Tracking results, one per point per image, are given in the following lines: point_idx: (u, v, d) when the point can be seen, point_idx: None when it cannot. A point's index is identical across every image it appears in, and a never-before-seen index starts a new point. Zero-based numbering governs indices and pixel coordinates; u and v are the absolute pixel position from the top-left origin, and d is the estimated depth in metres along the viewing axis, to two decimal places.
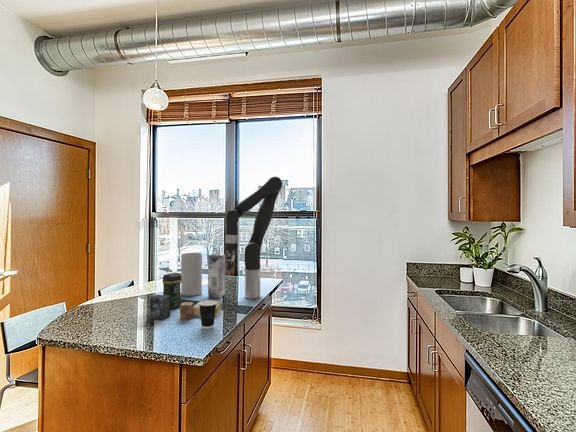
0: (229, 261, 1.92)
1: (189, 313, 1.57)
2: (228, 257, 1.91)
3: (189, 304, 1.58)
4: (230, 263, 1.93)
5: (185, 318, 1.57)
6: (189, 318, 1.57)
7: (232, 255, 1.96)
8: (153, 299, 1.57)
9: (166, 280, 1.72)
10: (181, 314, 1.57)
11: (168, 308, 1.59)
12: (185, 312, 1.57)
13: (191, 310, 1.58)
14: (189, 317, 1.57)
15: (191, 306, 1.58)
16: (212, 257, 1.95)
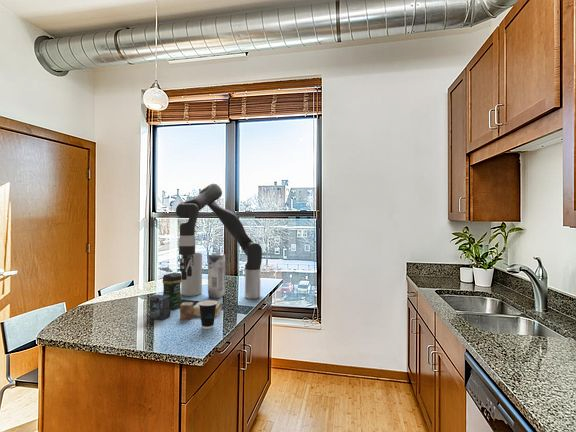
0: (183, 269, 1.52)
1: (189, 313, 1.57)
2: (181, 264, 1.52)
3: (189, 304, 1.58)
4: (185, 271, 1.54)
5: (185, 318, 1.57)
6: (189, 318, 1.57)
7: (188, 261, 1.57)
8: (153, 299, 1.57)
9: (166, 280, 1.72)
10: (181, 314, 1.57)
11: (168, 308, 1.59)
12: (185, 312, 1.57)
13: (191, 310, 1.58)
14: (189, 317, 1.57)
15: (191, 306, 1.58)
16: (212, 257, 1.95)
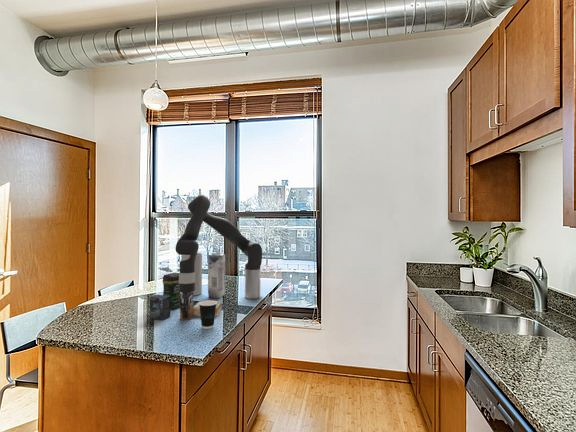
0: (184, 308, 1.54)
1: (189, 313, 1.57)
2: (182, 304, 1.53)
3: (189, 304, 1.58)
4: (186, 310, 1.55)
5: (185, 318, 1.57)
6: (189, 318, 1.57)
7: (188, 299, 1.57)
8: (153, 299, 1.57)
9: (166, 280, 1.72)
10: (181, 314, 1.57)
11: (168, 308, 1.59)
12: None
13: (191, 310, 1.58)
14: (189, 317, 1.57)
15: (191, 306, 1.58)
16: (212, 257, 1.95)
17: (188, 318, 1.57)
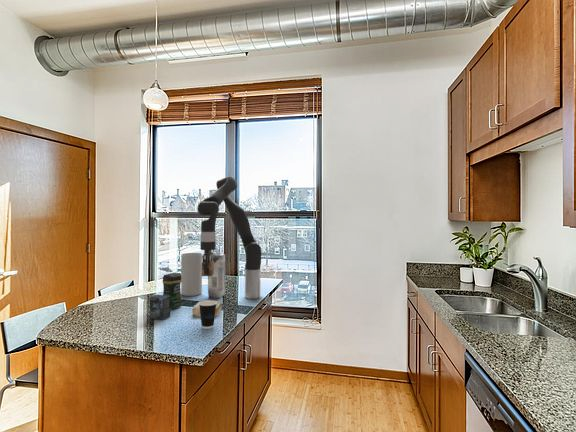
0: (206, 264, 1.63)
1: (210, 270, 1.66)
2: (204, 260, 1.62)
3: (210, 262, 1.67)
4: (207, 266, 1.64)
5: None
6: (210, 274, 1.66)
7: (209, 256, 1.66)
8: (153, 299, 1.57)
9: (166, 280, 1.72)
10: (203, 271, 1.66)
11: (168, 308, 1.59)
12: None
13: (212, 267, 1.67)
14: (210, 273, 1.66)
15: (212, 263, 1.67)
16: None
17: (209, 275, 1.66)
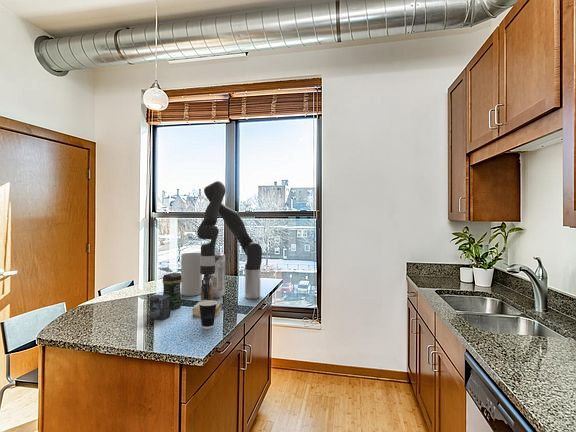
0: (205, 289, 1.63)
1: (210, 294, 1.66)
2: (203, 285, 1.62)
3: None
4: (207, 291, 1.65)
5: None
6: (210, 299, 1.66)
7: (209, 280, 1.66)
8: (153, 299, 1.57)
9: (166, 280, 1.72)
10: (202, 295, 1.66)
11: (168, 308, 1.59)
12: None
13: (211, 291, 1.68)
14: (210, 298, 1.66)
15: (211, 287, 1.67)
16: None
17: (209, 299, 1.66)
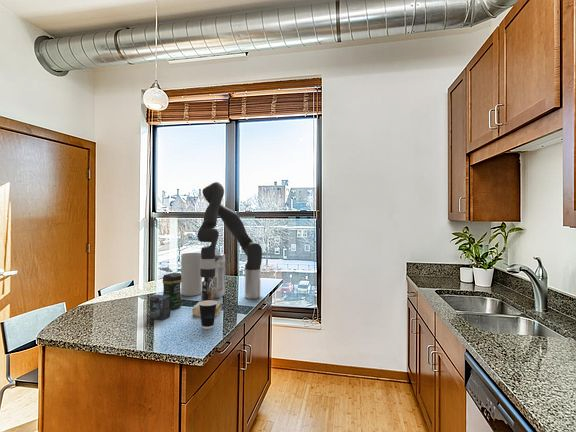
0: (205, 291, 1.62)
1: (210, 299, 1.66)
2: (203, 286, 1.61)
3: (210, 291, 1.67)
4: (206, 293, 1.63)
5: None
6: None
7: (209, 283, 1.66)
8: (153, 299, 1.57)
9: (166, 280, 1.72)
10: (202, 300, 1.66)
11: (168, 308, 1.59)
12: None
13: (212, 296, 1.67)
14: None
15: (212, 293, 1.67)
16: None
17: None
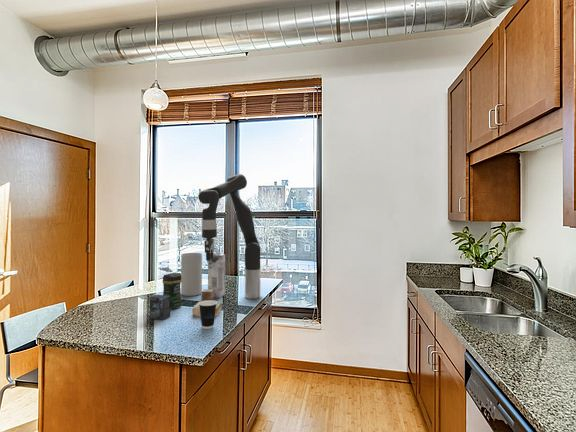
0: (208, 250, 1.65)
1: (210, 299, 1.66)
2: (206, 245, 1.65)
3: (210, 291, 1.67)
4: (209, 252, 1.66)
5: None
6: None
7: (211, 243, 1.69)
8: (153, 299, 1.57)
9: (166, 280, 1.72)
10: (202, 300, 1.66)
11: (168, 308, 1.59)
12: (206, 298, 1.66)
13: (212, 296, 1.67)
14: None
15: (212, 293, 1.67)
16: None
17: None
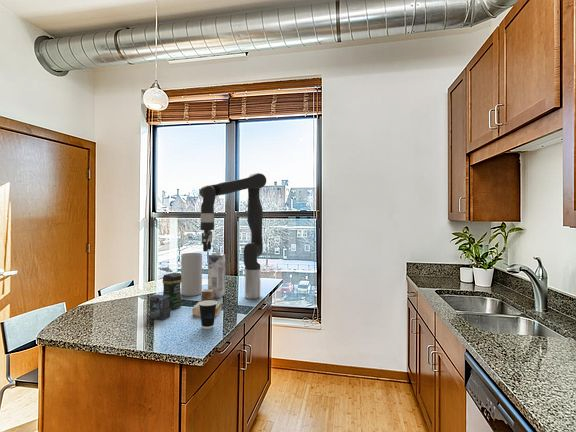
0: (204, 241, 1.76)
1: (210, 299, 1.66)
2: (203, 237, 1.76)
3: (210, 291, 1.67)
4: (206, 244, 1.78)
5: None
6: None
7: (208, 235, 1.80)
8: (153, 299, 1.57)
9: (166, 280, 1.72)
10: (202, 300, 1.66)
11: (168, 308, 1.59)
12: (206, 298, 1.66)
13: (212, 296, 1.67)
14: None
15: (212, 293, 1.67)
16: (212, 257, 1.95)
17: None
